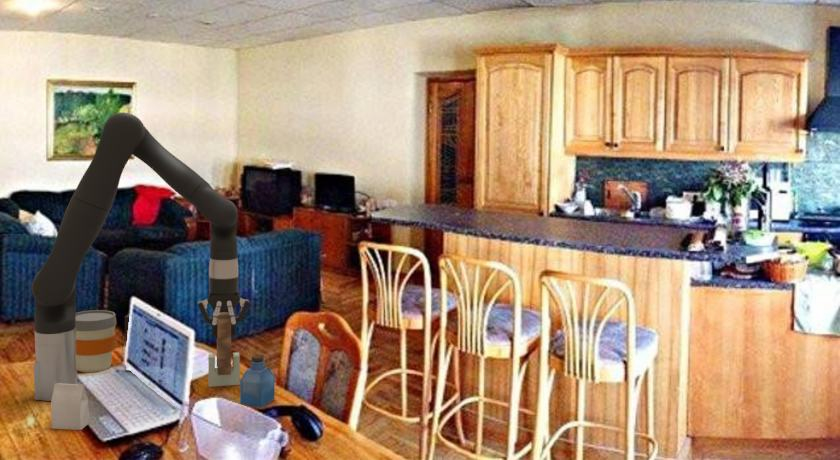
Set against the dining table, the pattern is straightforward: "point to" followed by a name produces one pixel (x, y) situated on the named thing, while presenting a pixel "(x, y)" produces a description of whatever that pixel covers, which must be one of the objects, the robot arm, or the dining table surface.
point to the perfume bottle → (257, 383)
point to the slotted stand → (224, 379)
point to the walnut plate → (224, 343)
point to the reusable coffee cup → (94, 339)
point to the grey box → (69, 407)
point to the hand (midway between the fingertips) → (223, 337)
